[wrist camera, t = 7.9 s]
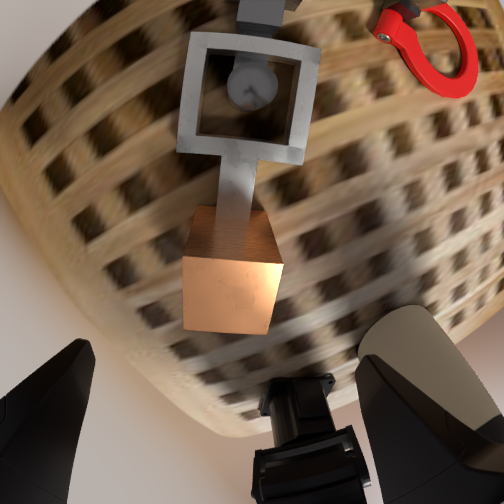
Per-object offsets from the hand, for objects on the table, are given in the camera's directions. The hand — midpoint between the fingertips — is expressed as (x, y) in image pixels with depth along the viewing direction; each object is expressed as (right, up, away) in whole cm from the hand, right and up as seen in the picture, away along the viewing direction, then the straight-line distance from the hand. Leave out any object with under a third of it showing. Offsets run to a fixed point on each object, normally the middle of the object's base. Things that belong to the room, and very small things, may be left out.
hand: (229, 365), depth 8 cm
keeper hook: (+1, +15, +4) cm, 15 cm away
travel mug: (+14, -4, +15) cm, 21 cm away
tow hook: (+13, +18, +4) cm, 23 cm away
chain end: (0, +8, +7) cm, 11 cm away
